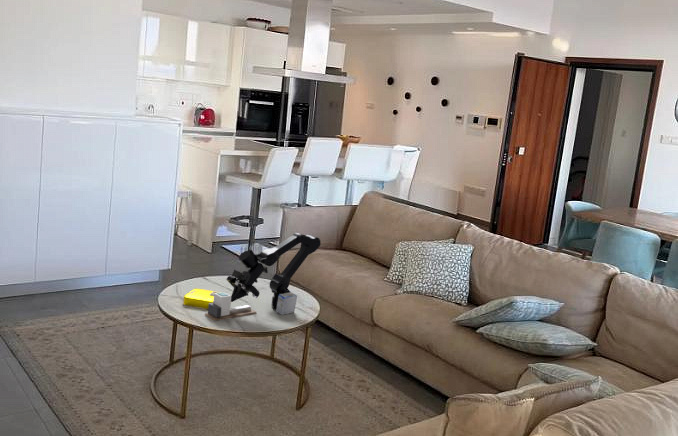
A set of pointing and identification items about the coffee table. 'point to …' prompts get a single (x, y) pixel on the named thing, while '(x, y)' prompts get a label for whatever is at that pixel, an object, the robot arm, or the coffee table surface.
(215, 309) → the rail
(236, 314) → the mounting board
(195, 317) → the coffee table surface
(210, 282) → the coffee table surface
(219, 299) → the block
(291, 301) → the medicine box
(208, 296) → the element tile
